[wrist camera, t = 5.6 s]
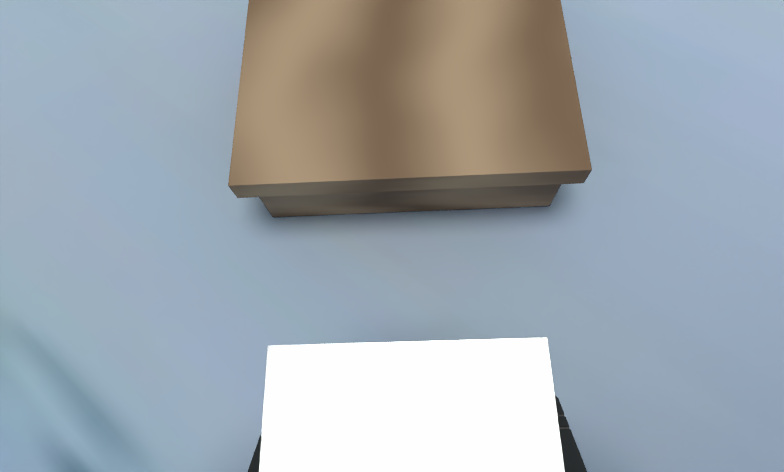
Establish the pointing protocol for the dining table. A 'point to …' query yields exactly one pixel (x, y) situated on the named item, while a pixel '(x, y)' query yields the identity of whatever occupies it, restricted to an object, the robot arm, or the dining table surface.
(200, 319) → the dining table surface
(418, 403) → the block
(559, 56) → the walnut stand
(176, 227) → the dining table surface
